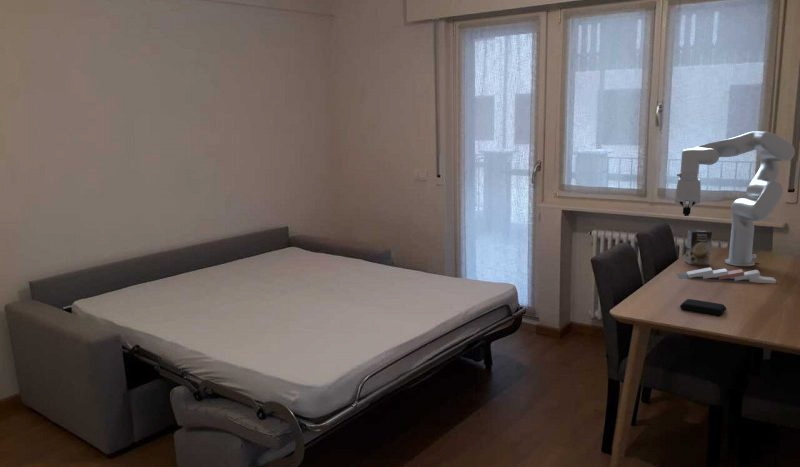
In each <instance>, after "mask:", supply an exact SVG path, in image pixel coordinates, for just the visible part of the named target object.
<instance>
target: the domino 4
mask: <svg viewBox="0 0 800 467" xmlns="http://www.w3.org/2000/svg"><path fill="white" fill-rule="evenodd" d="M747 279H748V280H749V282H755V283H758V284H759V283H762V284H777V280H776V279H775V278H774V277H771V276H769V277H768V276H761V275H760V276H758V277H753V278H747Z"/></svg>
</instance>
